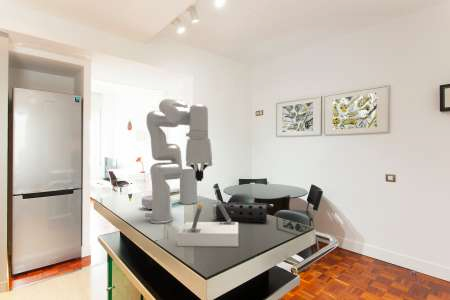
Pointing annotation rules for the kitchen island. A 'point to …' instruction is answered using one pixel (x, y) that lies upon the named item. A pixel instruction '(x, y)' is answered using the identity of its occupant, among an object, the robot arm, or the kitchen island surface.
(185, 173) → the cylinder vase
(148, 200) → the paper bowls
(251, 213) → the muzzle brake
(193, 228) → the lever
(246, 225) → the kitchen island surface
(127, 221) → the kitchen island surface
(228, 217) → the lever
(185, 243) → the panel
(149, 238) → the kitchen island surface
